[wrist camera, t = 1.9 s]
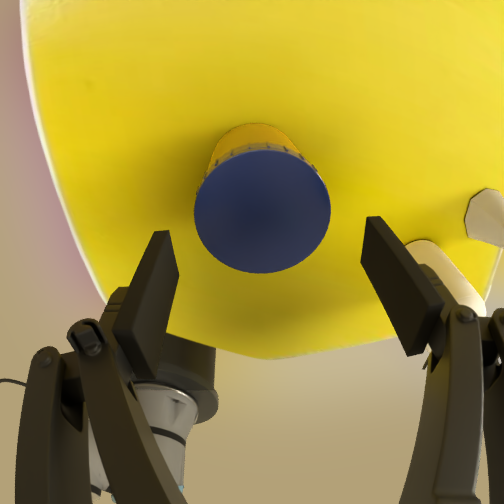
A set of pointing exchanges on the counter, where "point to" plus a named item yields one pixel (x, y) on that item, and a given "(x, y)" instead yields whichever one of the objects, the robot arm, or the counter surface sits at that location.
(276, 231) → the jam lid
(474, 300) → the pill bottle
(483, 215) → the flask
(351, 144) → the counter surface
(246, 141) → the jam jar
